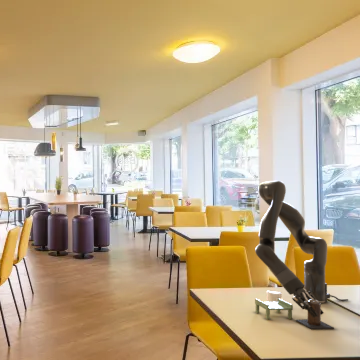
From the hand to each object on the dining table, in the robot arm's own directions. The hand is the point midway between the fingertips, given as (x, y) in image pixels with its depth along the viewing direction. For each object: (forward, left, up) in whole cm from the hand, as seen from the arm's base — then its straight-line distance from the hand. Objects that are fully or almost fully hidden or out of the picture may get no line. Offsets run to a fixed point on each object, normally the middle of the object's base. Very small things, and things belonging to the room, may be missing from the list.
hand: (318, 315), depth 167 cm
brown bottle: (+1, -2, -4) cm, 4 cm away
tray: (+12, -14, -5) cm, 19 cm away
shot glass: (+3, -28, -5) cm, 28 cm away
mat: (+1, -2, -5) cm, 5 cm away
